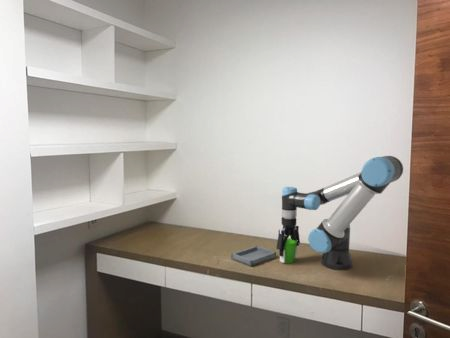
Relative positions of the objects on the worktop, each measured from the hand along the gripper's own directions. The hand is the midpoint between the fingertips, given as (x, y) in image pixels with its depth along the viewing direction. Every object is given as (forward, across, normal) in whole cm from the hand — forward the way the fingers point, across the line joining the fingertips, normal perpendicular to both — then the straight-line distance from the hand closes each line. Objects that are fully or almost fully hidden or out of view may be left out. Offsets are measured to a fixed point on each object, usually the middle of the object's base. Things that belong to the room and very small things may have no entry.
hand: (288, 259), depth 186 cm
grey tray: (+1, +10, -15) cm, 18 cm away
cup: (+1, 0, 0) cm, 1 cm away
